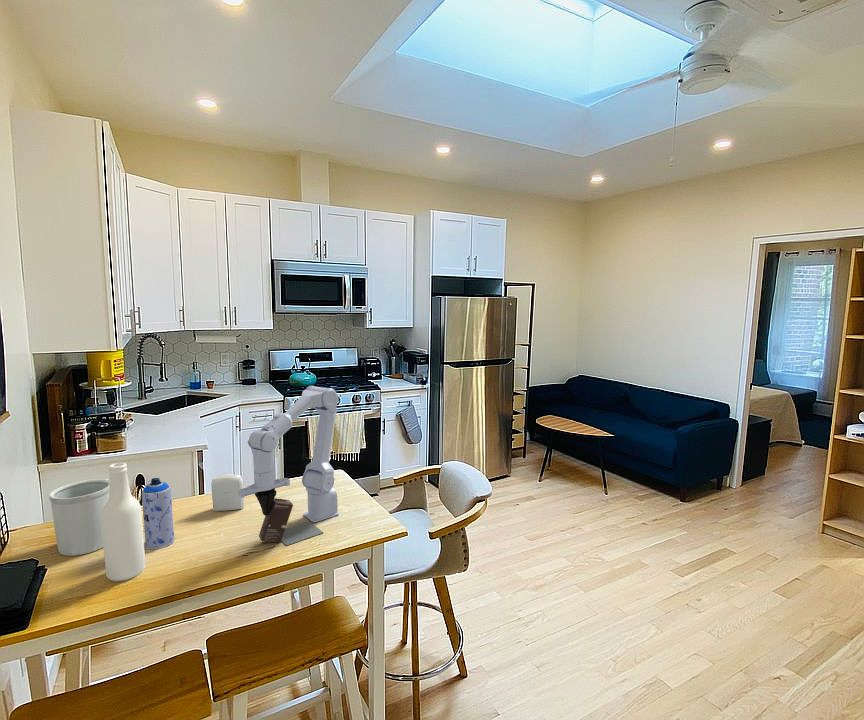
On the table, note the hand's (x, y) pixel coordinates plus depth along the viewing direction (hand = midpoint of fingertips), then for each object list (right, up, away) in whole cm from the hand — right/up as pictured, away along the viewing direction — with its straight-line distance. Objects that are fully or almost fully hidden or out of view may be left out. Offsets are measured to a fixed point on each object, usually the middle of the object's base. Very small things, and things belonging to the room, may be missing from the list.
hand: (266, 514), depth 139 cm
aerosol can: (-32, -9, +1) cm, 34 cm away
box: (+1, -9, +1) cm, 9 cm away
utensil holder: (-54, -9, 0) cm, 55 cm away
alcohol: (-32, -11, -14) cm, 37 cm away
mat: (+8, -9, +7) cm, 14 cm away
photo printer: (-22, -6, +24) cm, 33 cm away
